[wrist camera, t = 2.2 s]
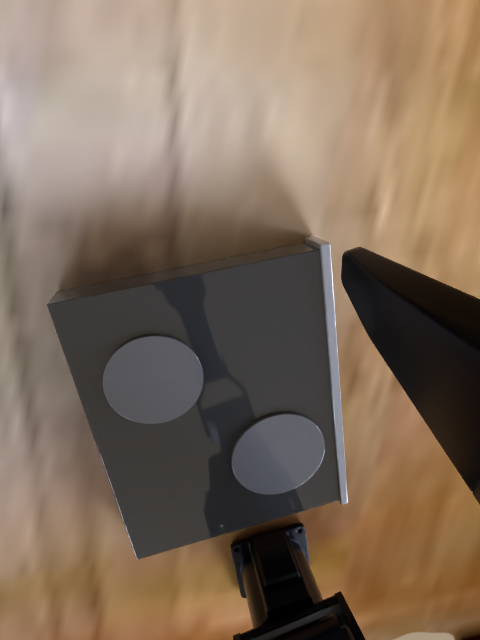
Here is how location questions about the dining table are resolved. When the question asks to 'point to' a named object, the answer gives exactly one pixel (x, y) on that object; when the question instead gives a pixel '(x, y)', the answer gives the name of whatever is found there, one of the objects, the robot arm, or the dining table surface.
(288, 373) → the hob
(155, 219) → the dining table surface
